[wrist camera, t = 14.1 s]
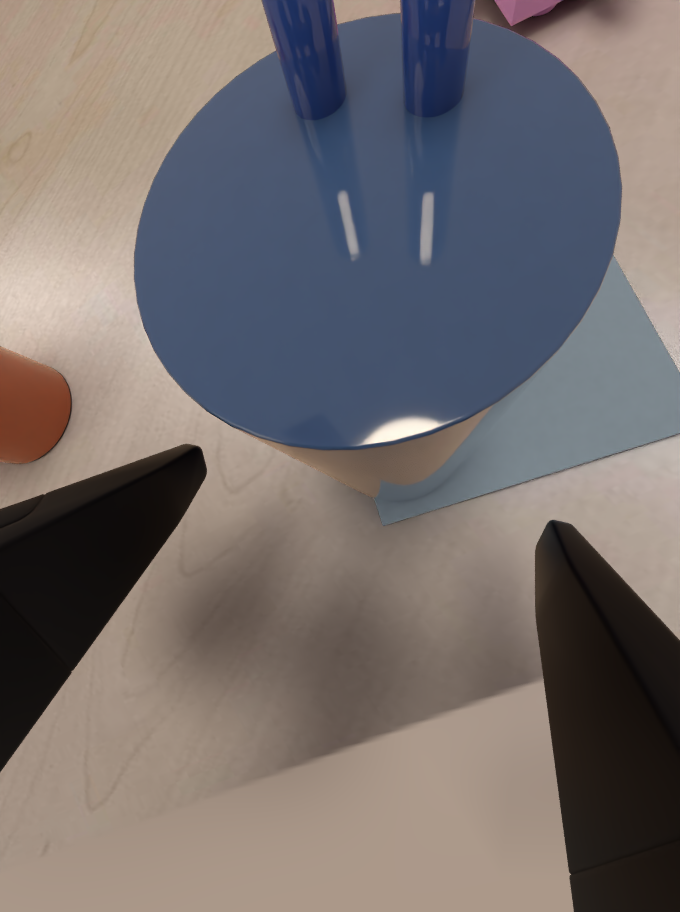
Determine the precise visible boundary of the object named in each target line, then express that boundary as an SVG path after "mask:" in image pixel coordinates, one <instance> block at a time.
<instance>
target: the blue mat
mask: <svg viewBox="0 0 680 912" xmlns="http://www.w3.org/2000/svg"><path fill="white" fill-rule="evenodd" d="M677 434H680V372H679V371H678V369H677V367H676V365H675V364H674V362H673V360H672V358H671V357H670V355H669V353H668V351H667V349H666V348H665V346H664V344H663V342H662V341H661V339H660V337H659V335H658V333H657V332H656V330H655V328H654V326H653V325H652V323H651V321H650V319H649V317H648V316H647V314H646V312H645V310H644V309H643V307H642V305H641V303H640V301H639V300H638V298H637V296H636V294H635V293H634V291H633V289H632V287H631V285H630V284H629V282H628V280H627V278H626V277H625V275H624V273H623V271H622V269H621V268H620V266H619V264H618V262H617V261H616V259H615V257H614V255H613V257H612V260H611V262H610V265H609V267H608V270H607V272H606V275H605V277H604V280H603V282H602V285H601V288H600V290H599V292H598V293H597V295H596V297H595V299H594V300H593V302H592V304H591V306H590V307H589V309H588V311H587V312H586V314H585V316H584V318H583V319H582V321H581V322H580V324H579V325H578V326H577V328H576V329H575V330H574V331H573V333H572V334H571V335H570V337H569V338H568V339H567V340H566V342H565V343H564V344H563V346H562V347H561V348H560V349H559V351H558V352H557V353H556V354H555V355H554V357H553V358H552V359H551V360H550V361H549V362H548V364H547V365H546V366H545V367H544V368H543V369H542V371H541V372H540V373H539V374H538V375H537V376H536V378H535V379H534V380H533V381H532V382H531V383H530V384H529V386H528V387H527V388H526V389H525V390H524V391H523V393H522V394H521V395H520V396H519V397H518V398H517V400H516V401H515V402H514V403H513V404H512V405H511V407H510V408H509V409H508V410H507V411H506V412H505V414H504V415H503V416H502V417H501V418H500V419H499V421H498V422H497V423H496V424H495V425H494V426H493V428H492V429H491V430H490V431H489V432H488V433H487V435H486V436H485V437H484V438H483V439H482V440H481V442H480V443H479V444H478V445H477V446H476V447H475V449H474V450H473V451H472V452H471V453H470V454H469V456H468V457H467V458H466V459H465V460H464V461H463V463H462V464H461V465H460V466H459V467H458V468H457V469H456V471H455V472H454V473H453V474H452V475H451V476H450V478H449V479H448V480H447V481H446V482H445V483H444V484H443V485H441V486H440V487H439V488H437V489H436V490H435V491H433V492H431V493H429V494H428V495H426V496H423V497H420V498H418V499H414V500H410V501H403V502H389V501H382V500H378V499H375V498H374V500H375V503H376V506H377V509H378V512H379V516H380V519H381V522H382V525H383V526H385V525H388V524H391V523H395V522H398V521H401V520H404V519H407V518H411V517H414V516H417V515H420V514H424V513H427V512H430V511H433V510H436V509H440V508H443V507H446V506H449V505H452V504H456V503H459V502H462V501H465V500H468V499H472V498H475V497H478V496H481V495H485V494H488V493H491V492H494V491H497V490H501V489H504V488H507V487H510V486H513V485H517V484H520V483H523V482H526V481H529V480H533V479H536V478H539V477H542V476H546V475H549V474H552V473H555V472H558V471H562V470H565V469H568V468H571V467H574V466H578V465H581V464H584V463H587V462H590V461H594V460H597V459H600V458H603V457H607V456H610V455H613V454H616V453H619V452H623V451H626V450H629V449H632V448H635V447H639V446H642V445H645V444H648V443H651V442H655V441H658V440H661V439H664V438H668V437H671V436H674V435H677Z"/></svg>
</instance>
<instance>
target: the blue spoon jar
mask: <svg viewBox="0 0 680 912" xmlns="http://www.w3.org/2000/svg"><path fill="white" fill-rule="evenodd" d="M262 4H263V7H264V10H265V14H266V17H267V21H268V24H269V28H270V31H271V34H272V38H273V41H274V45H275V48H276V51H274V52H273V53H271V54H269V55H267V56H266V57H264V58H262V59H260V60H259V61H257V62H256V63H255V64H253V65H252V66H250V67H249V68H248V69H246V70H245V71H243V72H242V73H240V74H239V75H238V76H236V77H235V78H234V79H233V80H232V81H230V82H229V83H228V84H227V85H226V86H225V87H223V88H222V89H221V90H220V91H219V92H218V93H216V94H215V95H214V96H213V97H212V98H211V99H210V100H209V101H208V102H207V103H206V104H205V106H204V107H203V108H202V109H201V110H200V111H199V112H198V113H197V114H196V115H195V116H194V117H193V119H192V120H191V121H190V122H189V124H188V125H187V126H186V127H185V129H184V130H183V131H182V132H181V134H180V135H179V136H178V138H177V140H176V141H175V143H174V144H173V146H172V147H171V149H170V150H169V152H168V153H167V155H166V156H165V158H164V160H163V162H162V164H161V166H160V168H159V170H158V172H157V174H156V176H155V178H154V180H153V182H152V185H151V187H150V190H149V192H148V195H147V198H146V200H145V203H144V206H143V210H142V214H141V217H140V221H139V225H138V229H137V237H136V244H135V252H134V282H135V290H136V297H137V304H138V308H139V311H140V315H141V319H142V322H143V326H144V329H145V331H146V333H147V335H148V338H149V340H150V342H151V345H152V347H153V349H154V351H155V353H156V354H157V356H158V358H159V359H160V361H161V362H162V364H163V366H164V367H165V369H166V370H167V372H168V373H169V375H170V376H171V377H172V378H173V379H174V380H175V382H176V383H177V384H178V385H179V386H180V387H181V388H182V390H183V391H184V392H185V393H186V394H187V395H188V396H189V397H191V398H192V399H193V400H194V401H195V402H197V403H198V404H199V405H200V406H201V407H202V408H204V409H205V410H206V411H207V412H209V413H210V414H212V415H214V416H215V417H217V418H219V419H220V420H222V421H224V422H225V423H227V424H228V425H230V426H232V427H234V428H236V429H238V430H240V431H241V432H243V433H245V434H247V435H249V436H251V437H253V438H255V439H257V440H259V441H261V442H263V443H265V444H267V445H269V446H271V447H273V448H275V449H277V450H279V451H281V452H283V453H285V454H287V455H288V456H290V457H292V458H294V459H296V460H298V461H300V462H302V463H304V464H306V465H308V466H310V467H312V468H314V469H316V470H318V471H320V472H322V473H324V474H326V475H328V476H330V477H332V478H334V479H335V480H337V481H339V482H341V483H343V484H345V485H347V486H349V487H351V488H353V489H355V490H357V491H359V492H361V493H363V494H365V495H367V496H370V497H372V498H375V499H378V500H382V501H389V502H403V501H410V500H414V499H418V498H420V497H423V496H426V495H428V494H429V493H431V492H433V491H435V490H436V489H437V488H439V487H440V486H441V485H443V484H444V483H445V482H446V481H447V480H448V479H449V478H450V476H451V475H452V474H453V473H454V472H455V471H456V469H457V468H458V467H459V466H460V465H461V464H462V463H463V461H464V460H465V459H466V458H467V457H468V456H469V454H470V453H471V452H472V451H473V450H474V449H475V447H476V446H477V445H478V444H479V443H480V442H481V440H482V439H483V438H484V437H485V436H486V435H487V433H488V432H489V431H490V430H491V429H492V428H493V426H494V425H495V424H496V423H497V422H498V421H499V419H500V418H501V417H502V416H503V415H504V414H505V412H506V411H507V410H508V409H509V408H510V407H511V405H512V404H513V403H514V402H515V401H516V400H517V398H518V397H519V396H520V395H521V394H522V393H523V391H524V390H525V389H526V388H527V387H528V386H529V384H530V383H531V382H532V381H533V380H534V379H535V378H536V376H537V375H538V374H539V373H540V372H541V371H542V369H543V368H544V367H545V366H546V365H547V364H548V362H549V361H550V360H551V359H552V358H553V357H554V355H555V354H556V353H557V352H558V351H559V349H560V348H561V347H562V346H563V344H564V343H565V342H566V340H567V339H568V338H569V337H570V335H571V334H572V333H573V331H574V330H575V329H576V328H577V326H578V325H579V324H580V322H581V321H582V319H583V318H584V316H585V314H586V312H587V311H588V309H589V307H590V306H591V304H592V302H593V300H594V299H595V297H596V295H597V293H598V292H599V290H600V288H601V285H602V282H603V280H604V277H605V275H606V272H607V270H608V267H609V265H610V262H611V260H612V257H613V253H614V248H615V244H616V239H617V235H618V230H619V226H620V218H621V199H622V183H621V175H620V166H619V158H618V154H617V150H616V147H615V144H614V140H613V137H612V134H611V131H610V127H609V125H608V123H607V121H606V119H605V117H604V115H603V114H602V112H601V110H600V108H599V106H598V104H597V102H596V100H595V99H594V97H593V96H592V95H591V93H590V92H589V91H588V89H587V88H586V87H585V85H584V84H583V83H582V81H581V80H580V79H579V78H578V77H577V76H576V75H575V74H574V73H573V72H572V71H571V70H570V69H569V68H568V67H567V66H566V65H565V64H564V63H563V62H562V61H561V60H560V59H559V58H557V57H556V56H554V55H553V54H552V53H550V52H549V51H547V50H546V49H544V48H543V47H541V46H540V45H538V44H537V43H536V42H534V41H532V40H530V39H528V38H526V37H524V36H522V35H520V34H518V33H516V32H514V31H512V30H510V29H507V28H504V27H501V26H498V25H495V24H492V23H489V22H486V21H483V20H480V19H474V18H473V17H474V9H475V0H400V9H401V13H392V14H385V15H378V16H371V17H365V18H361V19H357V20H353V21H349V22H345V23H341V24H337V21H336V15H335V8H334V2H333V0H262Z"/></svg>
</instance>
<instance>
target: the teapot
mask: <svg viewBox="0 0 680 912" xmlns="http://www.w3.org/2000/svg"><path fill="white" fill-rule="evenodd" d="M560 1H562V0H495V2H496V4H497V5H498V7H499V8H500V10H501V11H502V13H503V15H504V16H505V18H506V19H507V21H508V22H509V24H510V25H511V26H513V25H515V24H517V23H519V22H521V21H523V20H525V19H527V18H529V17H531V16H540V15H543V14H546V13H548V12H549V11H551V10H552V9H553V8H554V7H555V5H556V4H557V3H558V2H560Z"/></svg>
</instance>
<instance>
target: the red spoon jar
mask: <svg viewBox="0 0 680 912" xmlns="http://www.w3.org/2000/svg"><path fill="white" fill-rule="evenodd" d="M70 409H71V397H70V391H69V388H68V385H67V383H66V381H65V379H64V378H63V377H62V375H61V374H60V373H58V372H57V371H56V370H55V369H53V368H51V367H49V366H47V365H44V364H42V363H39V362H37V361H35V360H32V359H30V358H27V357H25V356H23V355H20V354H18V353H16V352H13V351H11V350H8V349H6V348H4V347H1V346H0V462H5V463H12V464H23V463H28V462H31V461H34V460H36V459H38V458H40V457H41V456H43V455H44V454H46V453H47V452H48V451H49V450H50V449H51V448H52V447H53V446H54V445H55V444H56V443H57V441H58V440H59V439H60V437H61V435H62V434H63V432H64V430H65V428H66V425H67V423H68V419H69V415H70Z"/></svg>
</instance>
